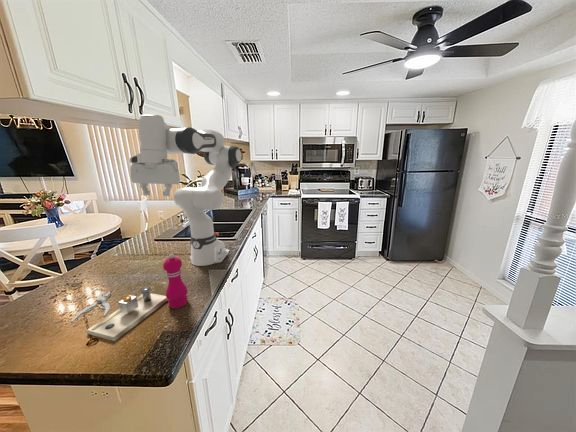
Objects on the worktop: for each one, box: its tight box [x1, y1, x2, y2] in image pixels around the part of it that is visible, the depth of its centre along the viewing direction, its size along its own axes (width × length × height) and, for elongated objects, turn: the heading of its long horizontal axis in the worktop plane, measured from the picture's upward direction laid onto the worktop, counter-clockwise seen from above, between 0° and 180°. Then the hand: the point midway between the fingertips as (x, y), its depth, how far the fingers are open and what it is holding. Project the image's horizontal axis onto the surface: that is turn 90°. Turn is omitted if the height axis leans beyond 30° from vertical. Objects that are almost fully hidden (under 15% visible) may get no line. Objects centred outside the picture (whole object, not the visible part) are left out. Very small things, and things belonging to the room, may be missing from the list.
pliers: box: [70, 291, 112, 324], centre depth 83 cm, size 10×2×15 cm
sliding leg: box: [118, 294, 138, 314], centre depth 77 cm, size 4×3×5 cm
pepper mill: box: [163, 253, 189, 309], centre depth 82 cm, size 7×7×20 cm
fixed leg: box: [140, 286, 152, 301], centre depth 83 cm, size 3×3×5 cm
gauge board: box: [86, 292, 169, 342], centre depth 78 cm, size 21×11×2 cm, turn 164°
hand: (156, 195), depth 87 cm, fingers open, 8 cm apart
